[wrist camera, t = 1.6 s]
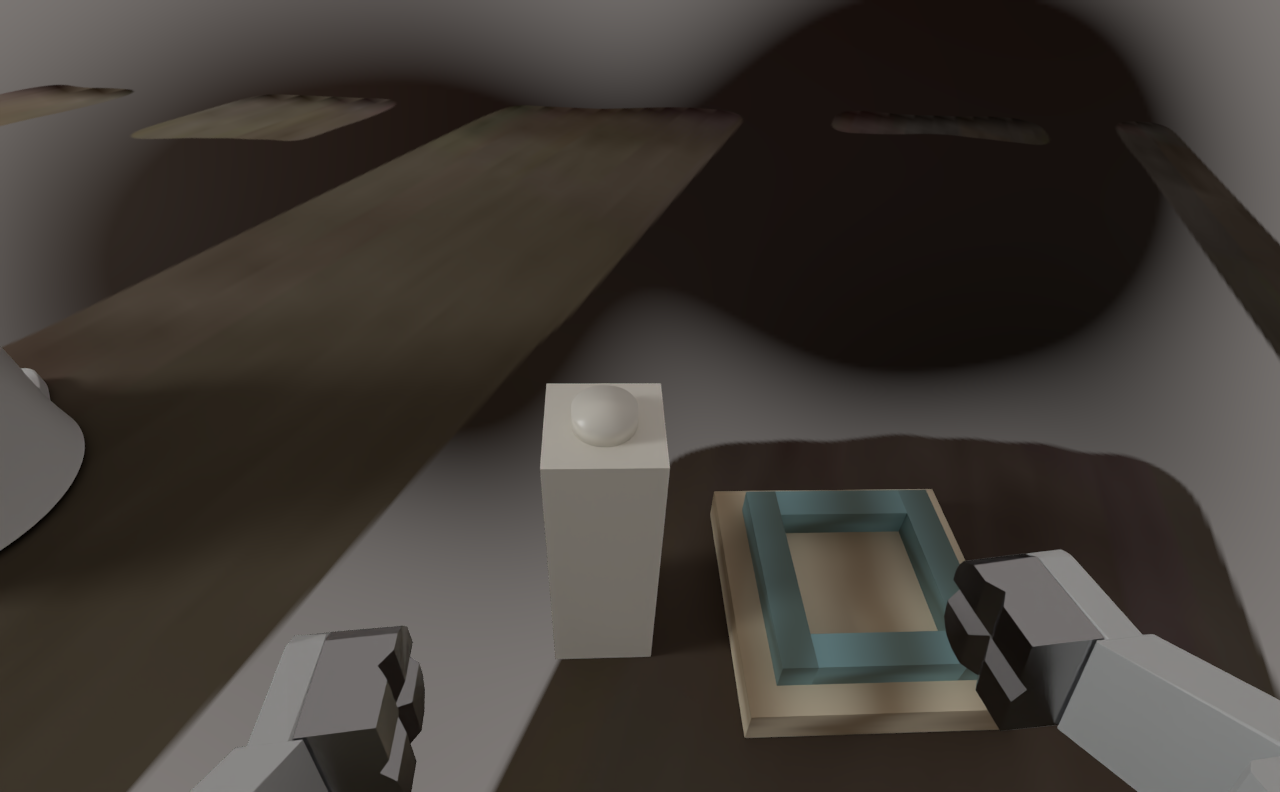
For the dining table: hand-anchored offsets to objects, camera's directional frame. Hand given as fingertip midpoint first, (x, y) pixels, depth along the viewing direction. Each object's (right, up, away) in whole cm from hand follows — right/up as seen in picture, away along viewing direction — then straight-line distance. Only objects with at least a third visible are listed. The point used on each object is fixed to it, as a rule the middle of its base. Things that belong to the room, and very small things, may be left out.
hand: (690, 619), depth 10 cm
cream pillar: (-2, -7, +24) cm, 25 cm away
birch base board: (+9, -7, +24) cm, 27 cm away
